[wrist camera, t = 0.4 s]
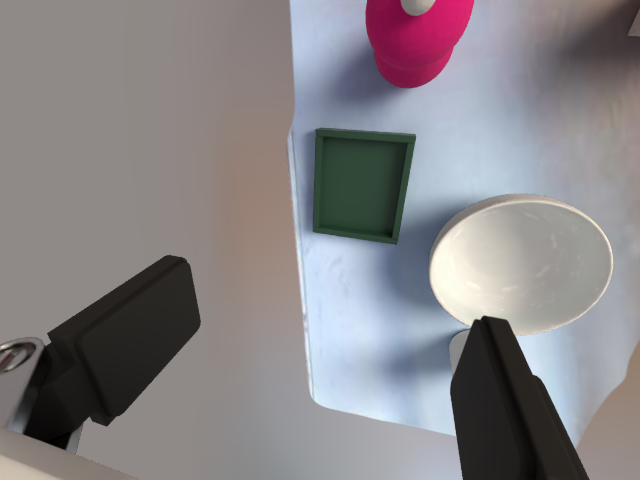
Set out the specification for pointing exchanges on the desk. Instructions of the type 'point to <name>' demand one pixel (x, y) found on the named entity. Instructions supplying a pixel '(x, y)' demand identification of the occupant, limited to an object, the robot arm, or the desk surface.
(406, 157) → the tray
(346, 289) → the desk surface
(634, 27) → the printed tea carton
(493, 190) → the desk surface
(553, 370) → the desk surface
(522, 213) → the cereal bowl
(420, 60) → the pepper mill
